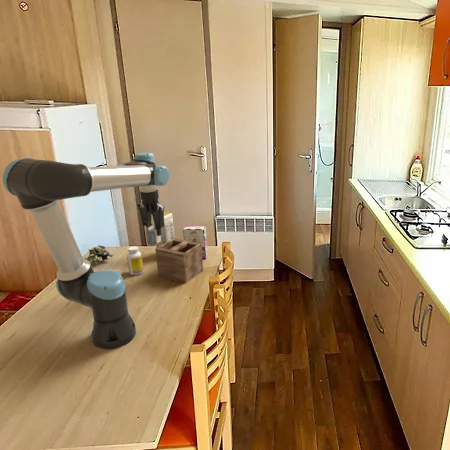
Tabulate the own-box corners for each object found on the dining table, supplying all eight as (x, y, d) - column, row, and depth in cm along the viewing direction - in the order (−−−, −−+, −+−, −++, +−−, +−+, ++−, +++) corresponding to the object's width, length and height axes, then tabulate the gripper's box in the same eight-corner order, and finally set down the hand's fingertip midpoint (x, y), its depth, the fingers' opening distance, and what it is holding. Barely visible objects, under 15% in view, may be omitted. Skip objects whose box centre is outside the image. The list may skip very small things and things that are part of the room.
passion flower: (105, 269, 195) (116, 251, 193) (95, 275, 184) (107, 256, 182) (87, 257, 195) (98, 239, 193) (77, 263, 184) (88, 243, 182)
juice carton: (167, 250, 203) (163, 208, 195) (178, 253, 198) (174, 210, 190) (155, 256, 195) (150, 213, 187) (165, 259, 191) (161, 215, 183)
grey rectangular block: (153, 245, 160) (151, 232, 158) (147, 244, 162) (146, 231, 160) (163, 239, 166) (161, 227, 164) (158, 238, 167) (156, 226, 165)
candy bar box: (208, 255, 194) (206, 225, 189) (206, 259, 190) (204, 229, 184) (187, 254, 196) (185, 225, 191) (185, 258, 192) (182, 228, 186)
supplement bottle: (146, 271, 179) (143, 246, 175) (136, 276, 174) (133, 251, 170) (136, 268, 183) (133, 244, 178) (126, 273, 177) (122, 249, 173)
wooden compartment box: (185, 283, 166) (183, 254, 162) (158, 275, 174) (155, 248, 169) (203, 270, 177) (201, 243, 173) (176, 264, 185) (174, 238, 181)
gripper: (169, 189, 154) (174, 241, 163) (140, 186, 162) (147, 235, 170) (157, 194, 148) (164, 247, 157) (128, 190, 156) (135, 241, 164)
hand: (155, 241), depth 163 cm, fingers closed on grey rectangular block, 3 cm apart
